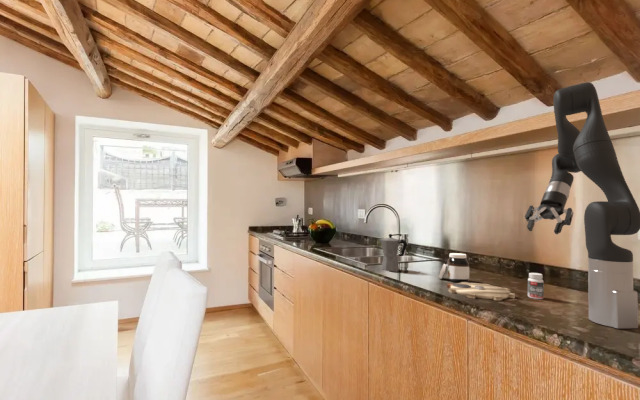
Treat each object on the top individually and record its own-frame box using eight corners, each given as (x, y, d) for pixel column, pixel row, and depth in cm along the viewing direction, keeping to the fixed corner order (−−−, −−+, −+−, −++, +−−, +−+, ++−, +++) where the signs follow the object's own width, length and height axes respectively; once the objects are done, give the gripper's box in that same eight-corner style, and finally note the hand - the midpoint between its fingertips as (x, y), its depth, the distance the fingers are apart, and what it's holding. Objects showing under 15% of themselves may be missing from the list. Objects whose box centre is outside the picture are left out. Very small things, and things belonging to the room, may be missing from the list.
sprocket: (530, 300, 111) (530, 294, 111) (466, 300, 109) (466, 294, 109) (489, 284, 134) (489, 280, 134) (436, 285, 132) (436, 280, 132)
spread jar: (472, 284, 135) (472, 255, 135) (444, 283, 135) (444, 255, 136) (460, 278, 147) (460, 252, 147) (435, 277, 147) (435, 251, 148)
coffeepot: (374, 269, 165) (374, 233, 166) (382, 266, 173) (383, 232, 173) (402, 273, 156) (402, 235, 156) (410, 270, 163) (410, 234, 164)
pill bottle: (529, 298, 113) (529, 274, 114) (526, 295, 118) (526, 272, 118) (545, 300, 112) (545, 275, 112) (541, 296, 116) (541, 273, 116)
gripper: (531, 189, 128) (517, 223, 123) (575, 190, 116) (562, 228, 111) (537, 200, 131) (524, 234, 126) (581, 203, 119) (568, 240, 115)
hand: (542, 231), depth 119 cm, fingers open, 8 cm apart
